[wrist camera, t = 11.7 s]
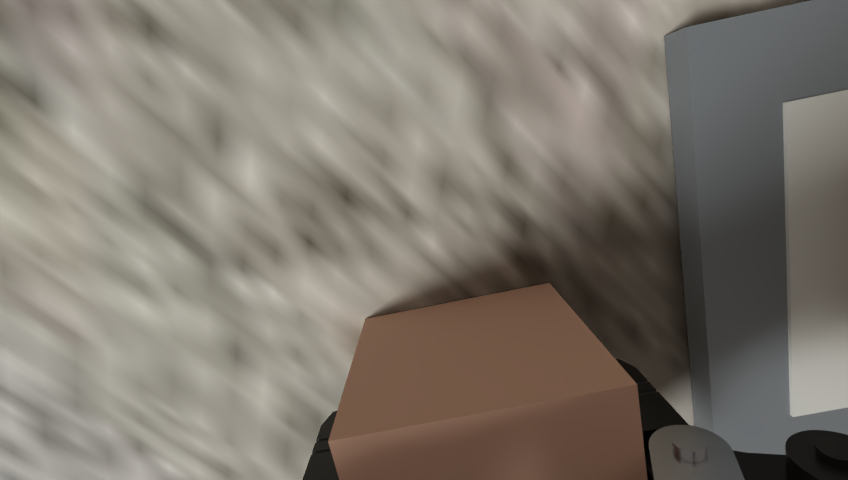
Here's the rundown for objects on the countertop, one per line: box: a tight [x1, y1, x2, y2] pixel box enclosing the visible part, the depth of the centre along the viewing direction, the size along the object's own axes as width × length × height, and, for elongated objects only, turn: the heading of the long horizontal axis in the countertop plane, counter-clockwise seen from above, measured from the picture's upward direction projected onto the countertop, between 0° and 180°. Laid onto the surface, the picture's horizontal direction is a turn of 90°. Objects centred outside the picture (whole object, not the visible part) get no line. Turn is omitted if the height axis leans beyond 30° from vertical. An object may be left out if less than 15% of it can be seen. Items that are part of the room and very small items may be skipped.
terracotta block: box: [328, 283, 648, 480], centre depth 10 cm, size 5×5×5 cm
